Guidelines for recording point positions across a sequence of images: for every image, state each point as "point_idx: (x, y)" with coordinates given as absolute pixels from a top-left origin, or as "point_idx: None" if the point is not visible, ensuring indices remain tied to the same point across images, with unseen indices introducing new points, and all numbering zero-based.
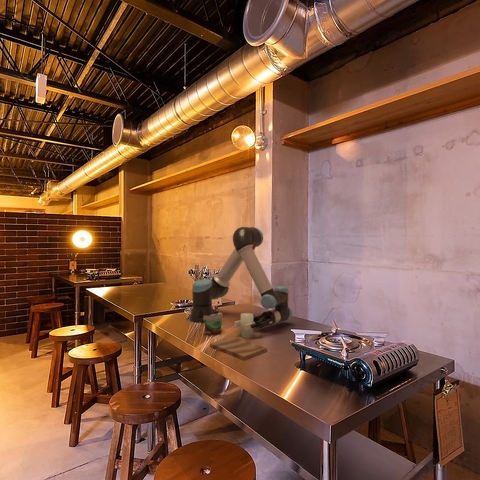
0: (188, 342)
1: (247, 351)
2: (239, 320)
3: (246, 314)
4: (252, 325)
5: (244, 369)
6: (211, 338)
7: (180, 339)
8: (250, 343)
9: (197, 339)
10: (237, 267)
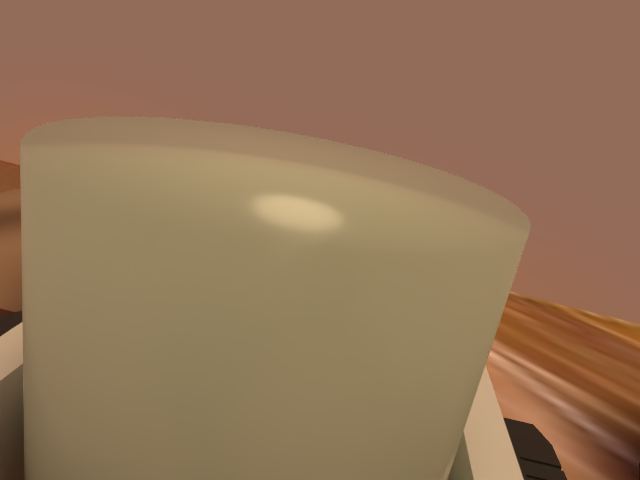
0: (522, 298)
1: (12, 214)
2: (487, 389)
3: (290, 158)
4: (18, 313)
5: (2, 173)
6: (514, 382)
7: (616, 318)
8: (10, 297)
9: (555, 340)
10: None
